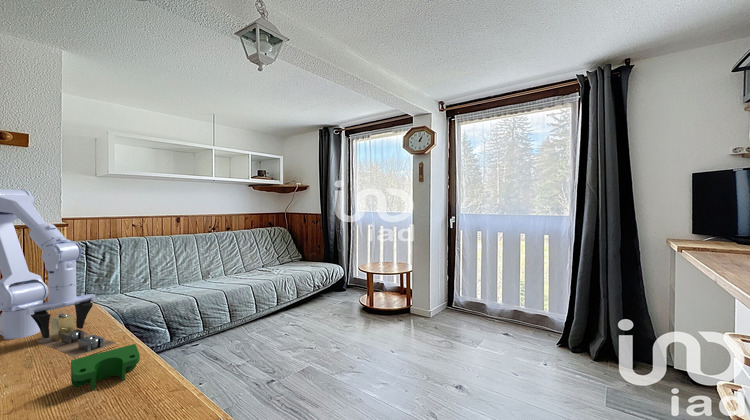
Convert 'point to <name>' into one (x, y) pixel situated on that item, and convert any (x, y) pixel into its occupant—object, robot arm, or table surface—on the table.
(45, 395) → the table surface
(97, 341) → the steel ball guide
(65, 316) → the brushed brass block
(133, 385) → the table surface
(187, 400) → the table surface
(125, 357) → the clamp
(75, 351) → the board
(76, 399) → the table surface
